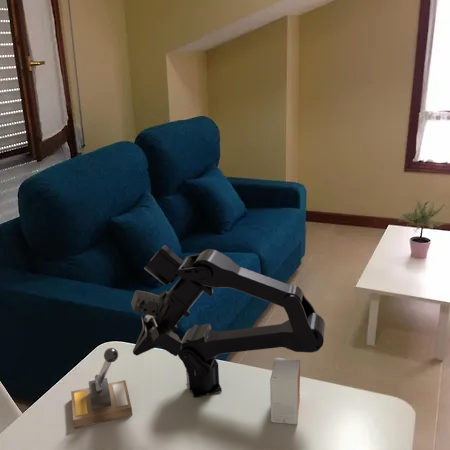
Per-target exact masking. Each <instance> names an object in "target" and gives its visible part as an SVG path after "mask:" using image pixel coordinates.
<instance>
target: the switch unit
mask: <svg viewBox="0 0 450 450" xmlns="http://www.w3.org/2000/svg"><path fill="white" fill-rule="evenodd" d="M101 385H102V392H101V393H97V391H96V384H95V379H93V380H89V381H88V387H86V388H81V389H77V390H73V391H70V392H71V394H70V395H71V406H72V407H71V408H72V409H71V410H72V421H73V427H74V429H77V428H82V427H86V426H91V425H94V424H95V425H96V424H98V423H104V422H107V421H112V420H116V419H120V418H121V419H122V418H125V417H129V416H133V408H132V404H131V403H132V402H131V399H130V394H129V391H128V390H129V389H128V385H127V382H126V379H123V380H119V381H114V382H110V383H109V382H108V377H105V378H104V380H103V383H102V384H101Z"/></svg>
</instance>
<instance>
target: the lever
mask: <svg viewBox="0 0 450 450" xmlns="http://www.w3.org/2000/svg"><path fill="white" fill-rule="evenodd" d="M103 358H104V362H103V364H102V367H101V368H100V371H99V374H96V375H94V380H95V384H96V391H97V393H101V392H102V385H101V384H102V383H103V380H104V378H106V375H107V373H108V371H109V369H110V367H111V364H112V363H115V362H116V360H118V358H119V352H118V350H117V349H116V348H114V347H109V348H107V349H106V350H105V351H104V353H103Z"/></svg>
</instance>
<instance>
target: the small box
mask: <svg viewBox="0 0 450 450" xmlns="http://www.w3.org/2000/svg"><path fill="white" fill-rule="evenodd" d="M272 366H273V367H272V373H271V376H270V379H269V386H270V387H269V388H270V389H269V390H270V391H269V393H270V394H269V395H270V401H269V402H270V422H271V423H277V424H288V425H298V423H299V421H298V420H299V411H300V402H301V360H300V359H291V358H282V357H274V359H273V365H272Z"/></svg>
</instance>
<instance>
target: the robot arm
mask: <svg viewBox="0 0 450 450" xmlns="http://www.w3.org/2000/svg"><path fill="white" fill-rule="evenodd" d="M143 269H144V270H145V271H146V272H147V273H149V274H150V275H152V277H154V278H155V279H156V280H158V282H159V283H161V284H163V285H164V286H167V285H169V284H170V285H172V284H173V283H174V282H175V280H176V279H177V278H178V277H179V279H178V280H177V281H176V282H175V284H174V285H173V286H172V287H171V288H170V289H169V291H167V290H164V291H162V292H161V293H160V294H159V295H158V294H155V293H152V292H148V291H143V290H139V289H136V290H135V291H134V294H133V297H132V299H131V300H130V301H131V302H130V305H131V307H132V311H133V312H134V313H135V314H139V315H141V323H142V329H141V331H140V334H139V335H138V338H137V341H136V343H135V345H134V347H133V349H132V354H133V355H134V356H137V357H138V356H139V355H142V354H144V353H146V352H149V351H150V350H152V349H156V348H158V347H159V348H161V349H162V350H164V351H166V352H167V353H170V354H171V355H173V356H174V357H177V356H178V358H179V359H180V360H181V361H182V363H183V365H184V368H185V372H186V384H187V387H188V389H189V392H191V394H192V395H193V398H199V397H203V396H207V395H212V394H215V393H221V392H222V389H223V388H222V386H221V385H220V375H219V374H220V372H219V363H218V361H217V359H216V358H217V357H218V356H219V355H223V354H225V355H226V354H233V353H241V352H242V353H243V352H250V351H251V352H252V351H261V350H262V351H263V350H268V349H269V350H270V349H278V348H283V349H284V348H285V349H287V350H290V351H292V352H295V353H310V354H311V353H316V352H319V351H320V350H321V348H323V346H324V342H325V341H324V340H325V333H326V332H325V331H326V322H325V320H324V318H322V316H321V315H319V314H318V313H317V312H316V309H315V308H314V306H313V305H312V303H311V302H310V301H309V300H308V299H307V297H306V296H305V295H304V293H303V290H302V289H301V288H300V287H299V286H297V285H294V284H288V283H285V282H283V281H280V280H278V279H275V278H272V277H269V276H267V275H263V274H261V273H258V272H256V271H253V270H250V269H247V268H245V267H242V266H240V265H239V264H237V263H235V261H234V260H232V259H231V257H229V256H227V255H225V254H223V253H222V252H220V251H218V250H216V249H212V248H207V249H205V250H203V251H202V252H201V253H198V254H191V255H187V256H185V258H184V259H182V258H181V257H179V256H178V255H177V254H176V253H174V252H173V250H172V249H171V248H169V246H167V245H166V244H163V245H162V247H161V248H160V249H159V250H158V251H156V253H155V254H154V255H153V256H152V258H151V259H150V260H149V261H148V262H147V263H146V264H145V266H144V268H143ZM213 288H215V289H219V288H220V289H222V288H223V289H224V288H228V289H233V290H236V291H239V292H242V293H244V294H247V295H250V296H252V297H255V298H258V299H260V300H262V301H265V302H268V303H271V304H273V305H276V306H279V307H282V308H283V309H284V311H285V313H286V315H287V318H288V320H286V321H284V322H282V323H279V324H271V325H264V326H263V325H262V326H256V327H255V326H254V327H246V328H240V329H231V330H223V331H217V330H215V329H213V328H212V325H211V323H204V324H194V325H193V327H190V328H189V329H187V331H186V332H185V334H184V336H183V338H182V339H180V337H179V335H178V334H176V332H177V330H179V327H178V325H177V324H178V323H179V322H180V321H181V319H182V318H183V317H184V316H185V317H187V318H188V317H189V316H190V315H191V312H190V309H191V307H192V306H193V305H194V304H195V303H196V301H197V300H198V299H199V298H200V297H201V296H202V294H203V293H206V294H207V295H208V296H209V297H212V296H213V295H214V290H213ZM142 314H143V315H142ZM144 315H145V316H144Z"/></svg>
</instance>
